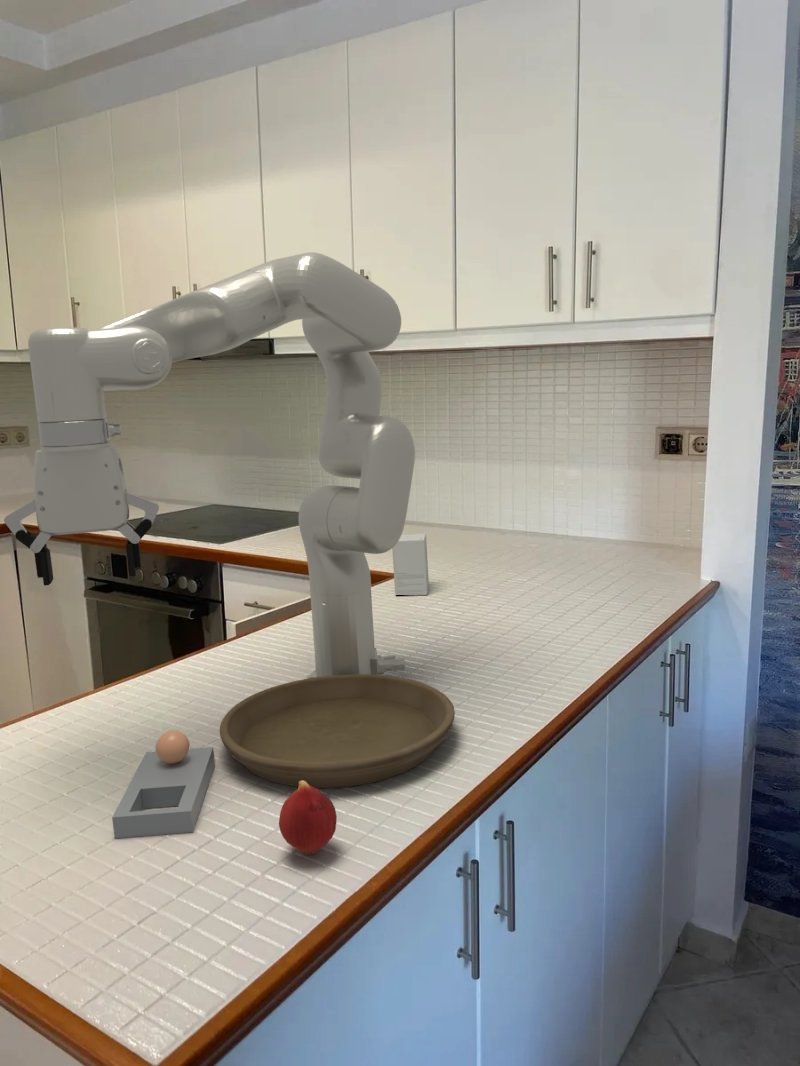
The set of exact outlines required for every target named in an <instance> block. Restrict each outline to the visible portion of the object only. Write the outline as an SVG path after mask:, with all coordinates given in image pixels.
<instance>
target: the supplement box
mask: <svg viewBox="0 0 800 1066" xmlns="http://www.w3.org/2000/svg"><path fill="white" fill-rule="evenodd" d="M427 542H428V541H427V533H416V534H415V533H413V534H412V533H411V534H401V537H400V539H399V541H398V542H397V544H396V545H395V546H394V547H393V548H392V549H391V550H392V552H391V553H392V565H393V578H394V579H393V581H394V591H395V592H394V593H395V594H394V595H395V596H396V595H414V596H428V594H429V590H430V582H429V581H430V580H429V565H428V563H429V562H428V545H427V544H428V543H427ZM428 589H429V590H428Z"/></svg>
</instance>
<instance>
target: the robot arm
mask: <svg viewBox="0 0 800 1066" xmlns="http://www.w3.org/2000/svg"><path fill="white" fill-rule="evenodd" d="M297 320H301V324H302V325H301V326H302V331H303V334H304V337H305V339H306V342H308V344H309V346H310V347H311V348H312V350H313V351H314V353H315V354H316V356H317V357H318V359H319V361H320V363H321V365H322V366H323V369H324V372H325V376H326V382H327V385H326V386H327V387H326V397H325V404H324V410H323V411H324V412H323V416H322V417H323V418H322V423H321V430H320V437H319V444H318V454H317V455H318V461H319V463H320V466H321V468H322V469H323V470H324V471H325V472H326V473H328V474H330V475H332V476H335V477H339V478H344V479H345V478H346V479H347V478H348V479H356V480H357V479H358V480H359V486H358V487H355V486H346V485H344V486H343V485H325V486H323V485H322V486H319V487H317V488H315V489H313V490H311V491H310V492H309V493H308V494H307V495H306V496H305V497H304V498H303V500H302V501H301V503H300V505H299V506H300V507H299V510H298V526H299V532H300V535H301V540H302V544H303V546H304V551H305V555H306V561H307V568H308V579H309V591H310V592H309V593H310V594H309V595H310V607H311V609H310V610H311V623H312V632H313V633H312V635H313V646H314V647H313V648H314V649H313V650H314V662H315V670H313V671H312V672H311V673H309V675H307V677H306V679H308V678H315V677H323V676H333V675H354V674H366V675H383V676H387V674H386V672H388V671H393V672H396V671H397V672H399V671H405V658H404V657H400V658H399V657H398V658H396V654H395V655H393V654H392V655H387V656H382V655H381V654H377V653H378V652H377V648H376V647H375V635H374V633H375V632H374V617H373V616H374V615H373V613H374V612H373V599H372V598H373V597H372V580H371V579H372V578H371V572H370V566H369V564H368V562H369V561H367V558H366V555H365V554H370V555H379V554H384V553H387V552H389V551H391V550H392V548H393V547H394V546H395V545H396V544H397V542H398V541H399V539H400V537H401V535H403V531H404V529H405V528H404V527H405V524H406V521H407V520H406V519H407V513H408V506H409V502H410V501H409V500H410V495H411V489H412V488H411V487H412V481H413V476H414V475H413V474H414V468H415V458H416V452H415V451H416V449H415V443H414V439H413V436H412V433H411V431H410V430H409V429H410V428H408V427H407V425H406V424H405V423H404V422H403V421H401V420H400V419H398V418H397V417H392V416H388V415H380V414H381V406H382V396H383V383H382V382H383V381H382V378H381V377H382V376H381V374H380V372H379V371H380V370H379V369H378V366H377V364H376V363H375V361H374V359H373V358H372V356H371V354H370V352H371V351H372V352H373V351H375V352H376V351H380V350H383V349H385V348H388V347H389V346H390V345H392V344H393V343H394V342H395V341H396V339H397V338H398V337H399V334H400V331H401V328H402V316H401V311H400V309H399V306H398V304H397V302H396V300H395V299H394V298H393V297H392V295H391V294H390V293H388V291H386V290H385V289H384V288H382V287H381V286H379V285H378V284H376V283H374V282H373V281H371V280H370V279H368V278H366V277H365V276H363V275H361V274H360V273H358V272H357V271H355V270H353V269H352V268H350V267H348V266H347V265H345V264H343V263H341V262H340V261H337V260H336V259H334V258H332V257H331V256H330V257H329V256H328V255H325V254H322V253H319V252H313V251H311V252H304V253H299V254H295V255H290V256H286V257H285V256H284V257H280V258H276V259H272V260H269V261H267V262H264V263H261V264H258V265H256V266H254V267H250V268H249V269H246V270H244V271H241V272H239V273H236V274H234V275H231V276H229V277H227V278H224V279H222V280H219V281H215V282H213V283H212V284H211V283H210V284H208V285H206V286H204V287H201V288H198V289H196V290H192V291H190V292H188V293H186V294H183V295H180V296H178V297H176V298H173V299H172V300H169V301H167V302H164V303H162V304H159V305H156V306H154V307H151V308H148V309H145V310H143V311H141V312H138V313H134V314H132V315H130V316H126V317H124V318H121V319H119V320H117V321H114V322H112V323H109V324H107V325H104V326H102V327H99V328H96V329H88V328H84V327H83V328H82V327H71V326H70V327H69V326H67V327H66V326H65V327H62V326H61V327H47V328H40V329H37V330H33V331H32V332H31V333H30V335H29V338H28V341H27V343H28V346H27V347H28V354H29V356H28V357H29V364H30V369H31V372H30V373H31V378H32V386H33V393H34V394H33V395H34V401H35V410H36V417H37V427H38V433H39V434H38V435H39V442H40V449H37V450H36V451H35V455H34V464H33V465H34V467H33V468H34V469H33V471H34V472H33V473H34V474H33V475H34V477H33V479H34V481H33V482H34V484H33V486H34V499H32V500H31V501H29V502H28V503H26V504H24V505H23V506H21V507H19V508H17V509H16V510H14V511H12V512H11V513H9V514H7V515H6V516H5V517H4V518H3V522H4V523H5V524H6V526H7V528H9V530H10V531H11V533H12V535H14V537H15V539H16V540H17V541H18V542H20V543H21V544H23V545H24V546H25V547H27V548H28V549H29V550H30V551H31V552H32V553H33V554H34V561H35V568H36V576H37V578H38V579H42V581H43V582H42V583H43V587H45V586H50V585H51V584H52V582H53V580H54V572H53V566H52V565H53V564H52V556H51V550H50V548H48V547H47V543H48V541H49V540H50V538H51V537H52V536H62V535H75V534H85V533H96V532H97V533H98V532H109V531H116V530H117V531H118V532H119V533H120V534H121V535H123V536H124V537H125V538H126V539H127V540H126V544H125V548H126V549H125V550H126V559H127V567H128V568H127V570H128V575H129V577H131V578H133V577H136V575H137V569H141V568H142V560H141V559H142V558H141V550H140V549H141V548H140V541H141V540H142V538H144V536H145V535H146V534H147V533H148V532H149V531H150V529H151V528H152V526H153V523H154V521H155V519H156V517H157V515H158V512H159V508H160V505H159V504H158V503H157V502H155V501H152V500H150V499H147V498H145V497H142V496H139V495H136V494H134V493H132V492H130V491H127V485H126V480H125V474H124V469H123V465H122V459H121V456H120V453H119V450H118V446H117V445H116V444H110V439H112V438H113V437H115V436H121V435H122V431H121V424H119V423H116V424H115V423H113V422H110V421H108V419H107V411H106V403H105V402H106V401H105V393H104V392H112V391H138V390H145V389H148V388H149V389H150V388H152V387H154V386H157V385H158V384H160V383H162V381H163V380H164V379H166V377H167V376H168V375H169V373H170V370H171V368H172V364H174V363H177V362H181V361H184V360H185V361H187V360H190V359H195V358H203V357H207V356H212V355H215V354H219V353H223V352H227V351H229V350H232V349H235V348H238V347H239V346H241V345H243V344H245V343H247V342H249V341H251V340H253V339H255V338H257V337H259V336H261V335H263V334H266V333H268V332H270V331H273V330H275V329H277V328H280V327H281V326H283V325H285V324H286V325H287V324H288V323H291V322H293V321H297ZM129 505H130V506H133V507H135V508H138V509H140V510H143V511H144V516H143V518H142V520H141V521H140V523H138V525H136V527H135V526H134V525H132V524H131V523H130V522H129V518H130V507H129ZM34 513H35V514H36V521H37V522H36V523H37V526H38V530H39V531H40V532H39V534H38V535H37V536H36V535H35V534H34V533H32V532H30V531H29V530H28V529H26V528H25V526H24V525H23V523H22V520H23V519H25V518H27V517H29V516H30V515H33V514H34Z"/></svg>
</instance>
